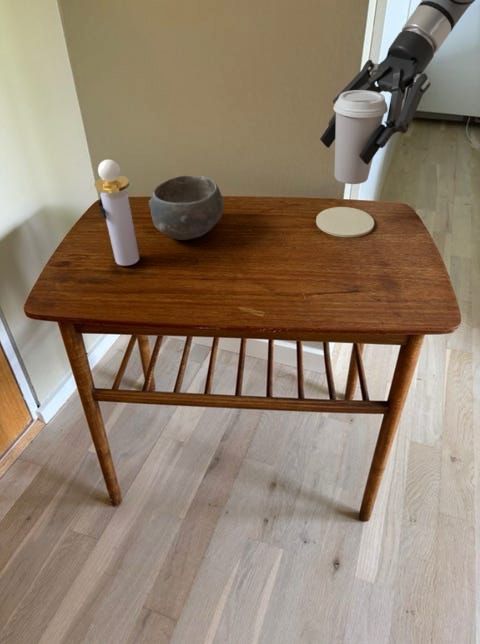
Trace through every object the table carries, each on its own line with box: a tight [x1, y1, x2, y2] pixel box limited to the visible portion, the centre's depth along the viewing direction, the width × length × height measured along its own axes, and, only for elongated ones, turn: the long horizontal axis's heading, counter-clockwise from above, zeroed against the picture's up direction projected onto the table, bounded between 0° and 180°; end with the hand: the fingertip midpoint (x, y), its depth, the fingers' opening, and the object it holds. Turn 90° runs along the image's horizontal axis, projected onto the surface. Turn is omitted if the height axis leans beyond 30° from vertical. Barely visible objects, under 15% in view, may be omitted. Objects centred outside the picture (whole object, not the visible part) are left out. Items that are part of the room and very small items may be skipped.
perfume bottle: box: [93, 158, 140, 267], centre depth 86 cm, size 6×6×20 cm
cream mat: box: [315, 206, 375, 239], centre depth 102 cm, size 12×12×1 cm
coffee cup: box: [332, 90, 389, 185], centre depth 90 cm, size 10×10×15 cm
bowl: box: [148, 174, 225, 241], centre depth 97 cm, size 14×15×10 cm
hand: (343, 151), depth 90 cm, fingers closed on coffee cup, 9 cm apart
